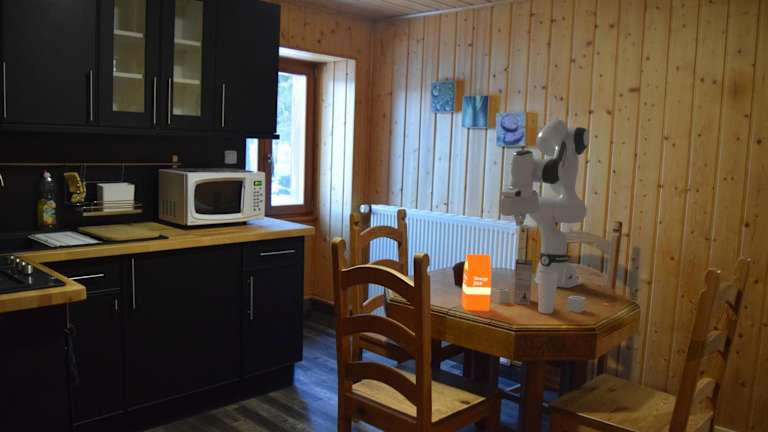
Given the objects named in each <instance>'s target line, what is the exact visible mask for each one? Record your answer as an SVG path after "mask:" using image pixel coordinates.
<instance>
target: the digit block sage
mask: <svg viewBox="0 0 768 432" xmlns="http://www.w3.org/2000/svg"><path fill="white" fill-rule="evenodd" d="M510 297H511V290H510V289H506V288H505V287H504V288H503V287H496V288H495V287H494V288H493V287H491V292H490V302H493V303H496V304H499V305H501V304H510V299H511V298H510Z"/></svg>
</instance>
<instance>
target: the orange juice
mask: <svg viewBox="0 0 768 432" xmlns="http://www.w3.org/2000/svg"><path fill="white" fill-rule="evenodd" d="M464 261H465V265H464V275H463V287H462V296H461V306H462V307H463V308H464V310H465V311H486V312H487V311H490V303H491V292H492V287H491V285H492V273H493V272H492V264H491V255H490V254H471V253H470V254H468V253H467V254H466V257H465V260H464Z"/></svg>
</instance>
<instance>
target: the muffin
mask: <svg viewBox="0 0 768 432" xmlns="http://www.w3.org/2000/svg"><path fill="white" fill-rule="evenodd" d="M465 261H466V260H464V261H459V262H456V263H455V264H454V265H453V266H452V268H451V270H452V272H453V280H454V285H455V286H457V287H462V288H463V275H464V265H465Z"/></svg>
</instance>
